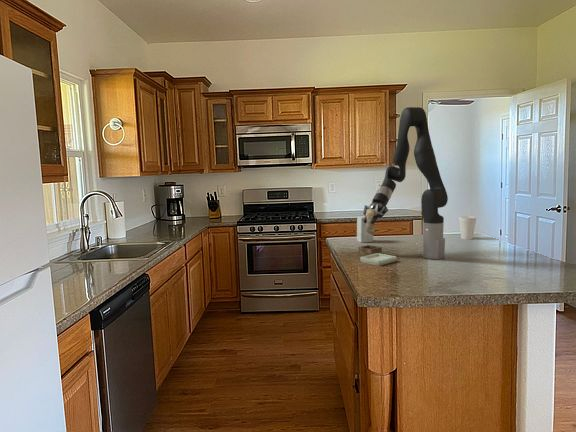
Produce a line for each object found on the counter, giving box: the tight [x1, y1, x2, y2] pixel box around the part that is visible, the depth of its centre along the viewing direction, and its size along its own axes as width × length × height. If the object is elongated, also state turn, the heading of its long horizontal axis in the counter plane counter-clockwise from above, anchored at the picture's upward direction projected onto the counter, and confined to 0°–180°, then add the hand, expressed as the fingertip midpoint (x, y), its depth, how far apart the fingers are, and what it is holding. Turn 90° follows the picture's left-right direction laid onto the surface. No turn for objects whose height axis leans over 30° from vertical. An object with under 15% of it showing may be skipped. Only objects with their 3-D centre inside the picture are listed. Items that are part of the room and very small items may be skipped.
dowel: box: [366, 209, 376, 235], centre depth 205 cm, size 4×4×12 cm
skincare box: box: [356, 216, 374, 243], centre depth 240 cm, size 8×6×15 cm
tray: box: [359, 253, 398, 267], centre depth 191 cm, size 11×13×2 cm
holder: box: [358, 244, 383, 256], centre depth 207 cm, size 8×8×4 cm
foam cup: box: [458, 215, 477, 240], centre depth 244 cm, size 10×9×13 cm
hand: (368, 222), depth 204 cm, fingers closed on dowel, 4 cm apart
